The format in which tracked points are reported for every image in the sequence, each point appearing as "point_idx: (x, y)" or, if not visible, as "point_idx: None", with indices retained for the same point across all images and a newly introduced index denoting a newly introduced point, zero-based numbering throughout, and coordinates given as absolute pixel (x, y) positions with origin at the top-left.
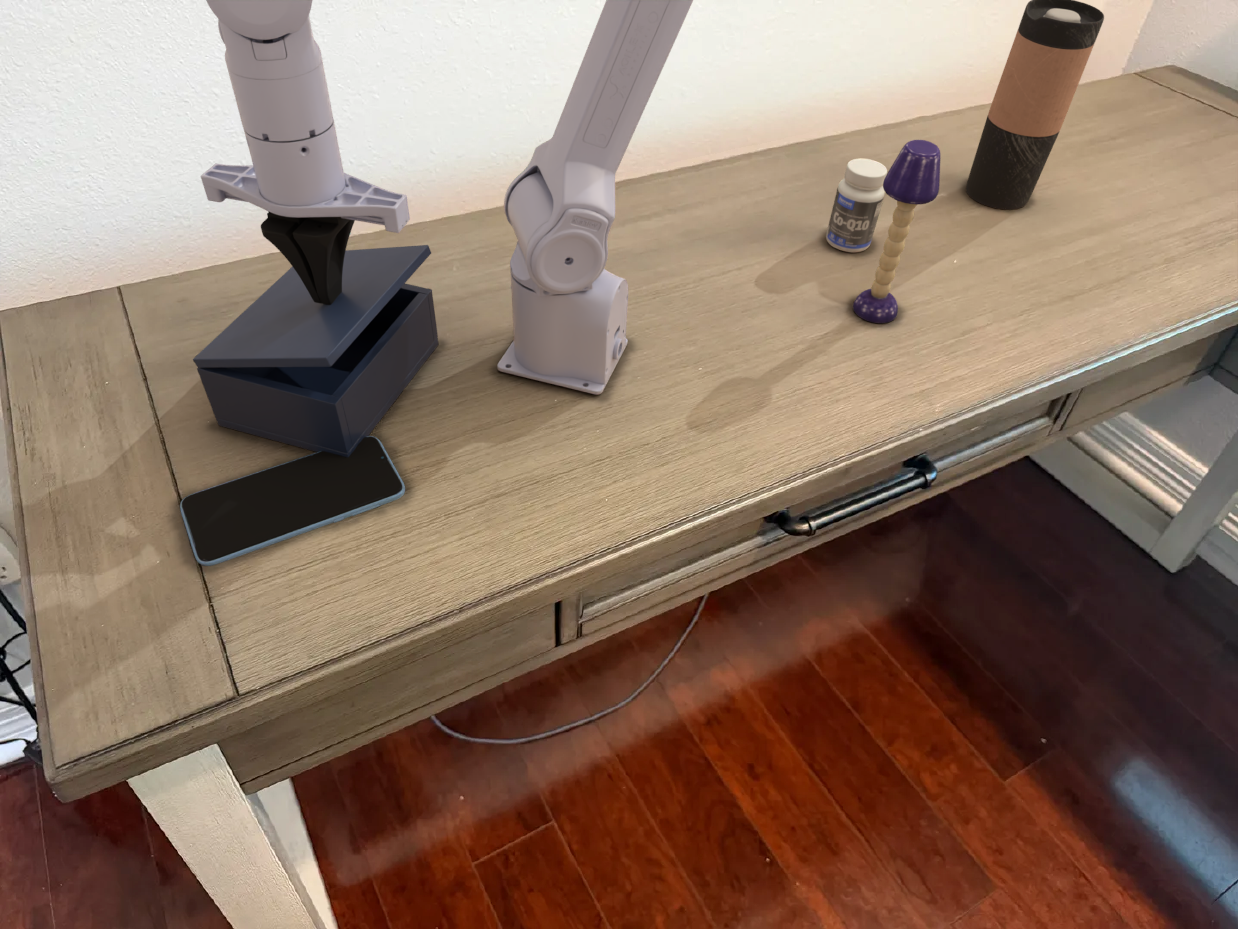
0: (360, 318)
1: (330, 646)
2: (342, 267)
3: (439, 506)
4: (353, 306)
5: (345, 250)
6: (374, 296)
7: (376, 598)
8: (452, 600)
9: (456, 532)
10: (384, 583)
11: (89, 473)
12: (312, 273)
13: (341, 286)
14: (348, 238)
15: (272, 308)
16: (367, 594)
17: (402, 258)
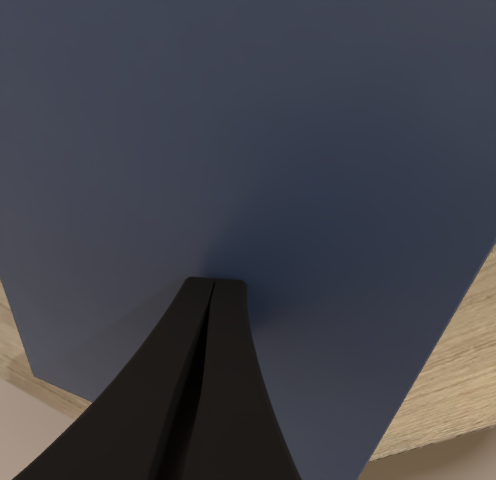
0: (377, 437)
1: (375, 452)
2: (252, 341)
3: (465, 338)
4: (331, 379)
5: (271, 405)
6: (391, 362)
7: (406, 423)
8: (488, 420)
9: (491, 364)
10: (411, 412)
11: (19, 345)
12: (191, 433)
13: (246, 294)
14: (294, 463)
15: (65, 275)
16: (396, 421)
17: (463, 114)
